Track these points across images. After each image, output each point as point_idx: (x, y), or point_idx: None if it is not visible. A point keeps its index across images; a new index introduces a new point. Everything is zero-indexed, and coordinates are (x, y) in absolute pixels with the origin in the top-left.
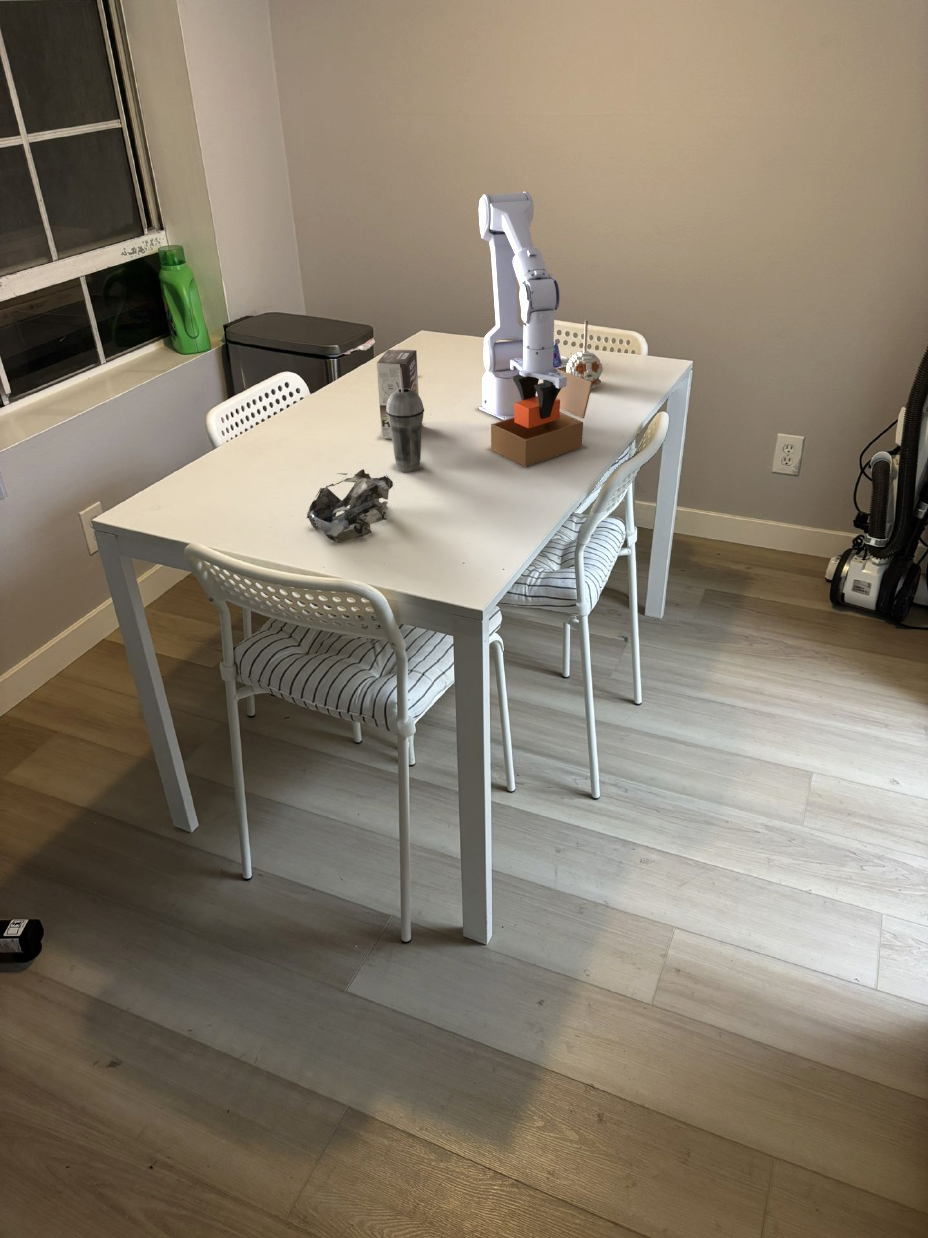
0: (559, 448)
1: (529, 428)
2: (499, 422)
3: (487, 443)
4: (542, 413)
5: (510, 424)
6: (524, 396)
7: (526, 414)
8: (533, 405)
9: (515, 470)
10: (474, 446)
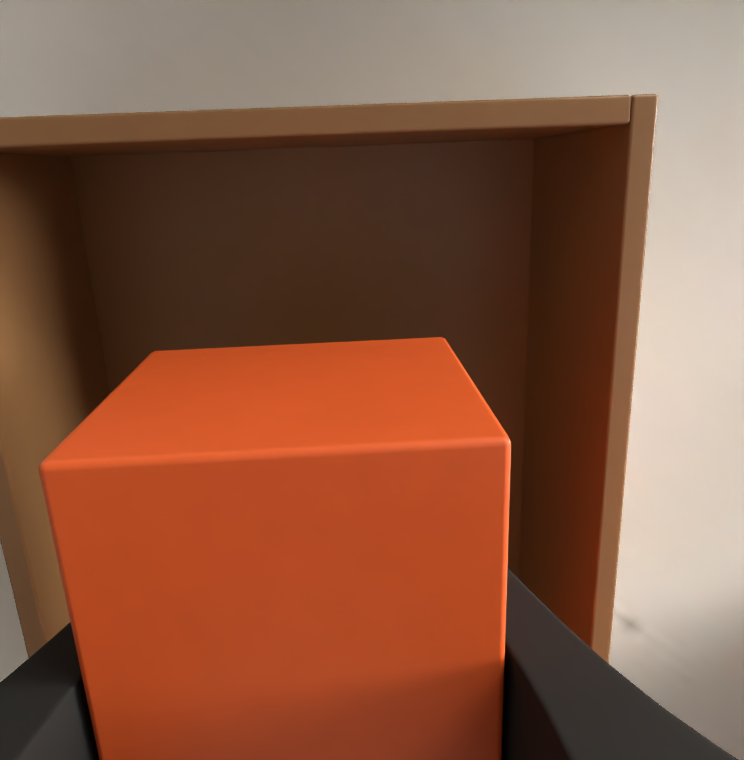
0: None
1: (539, 551)
2: (623, 226)
3: (671, 181)
4: (64, 628)
5: (585, 378)
6: (532, 711)
7: (143, 407)
8: (159, 630)
9: (35, 11)
10: (705, 38)
